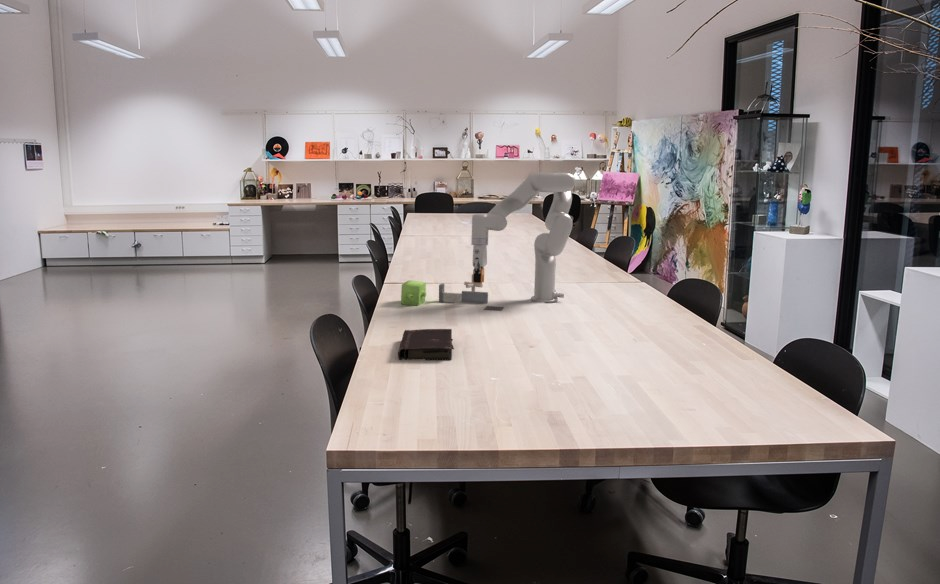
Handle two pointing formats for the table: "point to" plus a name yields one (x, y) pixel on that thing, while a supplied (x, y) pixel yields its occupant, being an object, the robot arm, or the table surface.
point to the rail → (462, 296)
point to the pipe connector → (472, 285)
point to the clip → (481, 276)
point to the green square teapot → (413, 293)
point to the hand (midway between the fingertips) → (478, 280)
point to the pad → (493, 308)
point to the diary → (427, 344)
